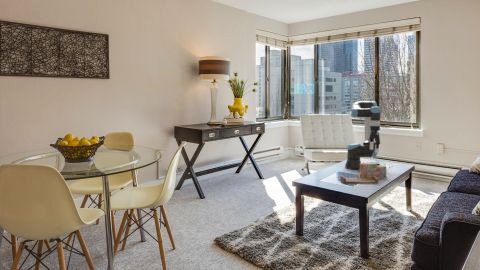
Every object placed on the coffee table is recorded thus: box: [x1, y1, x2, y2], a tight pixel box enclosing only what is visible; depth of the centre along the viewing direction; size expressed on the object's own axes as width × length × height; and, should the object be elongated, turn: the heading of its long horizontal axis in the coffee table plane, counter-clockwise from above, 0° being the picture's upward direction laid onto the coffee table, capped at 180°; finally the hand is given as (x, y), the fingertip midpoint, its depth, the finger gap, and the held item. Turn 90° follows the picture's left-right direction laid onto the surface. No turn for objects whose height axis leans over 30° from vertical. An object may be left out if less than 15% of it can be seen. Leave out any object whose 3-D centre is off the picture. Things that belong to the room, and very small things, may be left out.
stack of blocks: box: [358, 162, 388, 179], centre depth 284 cm, size 21×6×12 cm, turn 102°
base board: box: [340, 174, 379, 185], centre depth 271 cm, size 12×26×4 cm, turn 85°
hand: (374, 150), depth 282 cm, fingers open, 13 cm apart
